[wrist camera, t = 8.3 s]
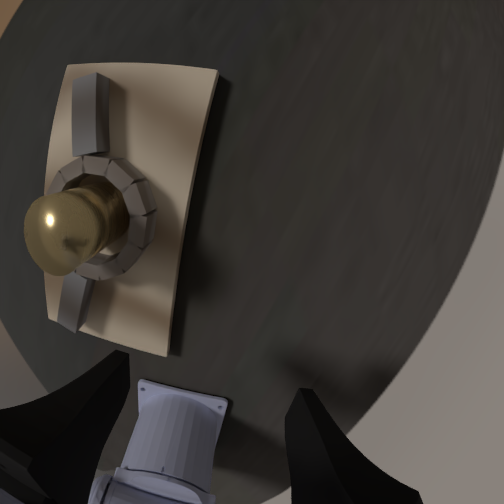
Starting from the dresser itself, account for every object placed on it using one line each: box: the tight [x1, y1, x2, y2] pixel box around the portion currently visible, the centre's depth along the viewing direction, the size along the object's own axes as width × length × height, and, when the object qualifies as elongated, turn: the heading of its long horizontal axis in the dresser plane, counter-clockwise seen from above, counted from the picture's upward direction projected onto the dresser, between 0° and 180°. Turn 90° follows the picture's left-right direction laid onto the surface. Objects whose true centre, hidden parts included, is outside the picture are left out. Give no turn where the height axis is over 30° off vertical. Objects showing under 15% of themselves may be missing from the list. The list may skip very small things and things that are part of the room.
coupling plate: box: [44, 63, 219, 357], centre depth 17 cm, size 20×11×3 cm, turn 167°
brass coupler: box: [24, 182, 130, 276], centre depth 14 cm, size 4×4×6 cm
